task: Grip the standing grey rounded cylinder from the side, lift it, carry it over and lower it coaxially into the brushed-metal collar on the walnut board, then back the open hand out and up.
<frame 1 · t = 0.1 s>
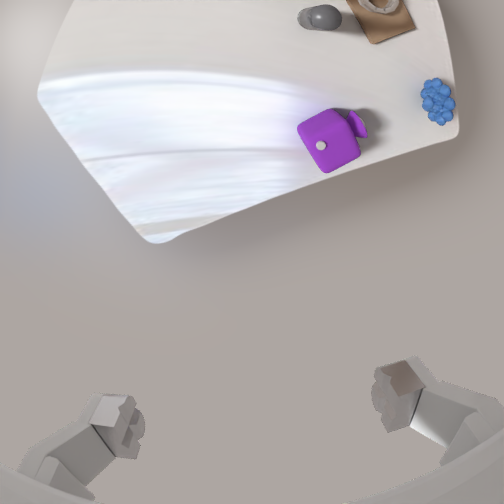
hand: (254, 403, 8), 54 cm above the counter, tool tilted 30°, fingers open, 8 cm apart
toy camera: (327, 127, 56), on the counter
blue lumpy cluster: (418, 93, 50), on the counter
grey rounded cylinder: (310, 18, 39), on the counter
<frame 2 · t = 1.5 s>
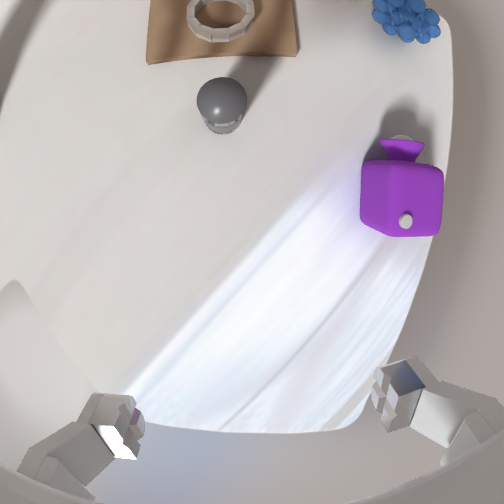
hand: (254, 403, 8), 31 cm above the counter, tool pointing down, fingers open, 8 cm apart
toy camera: (383, 182, 38), on the counter
blue lumpy cluster: (386, 35, 31), on the counter
grey rounded cylinder: (223, 116, 34), on the counter
mount: (220, 22, 30), on the counter
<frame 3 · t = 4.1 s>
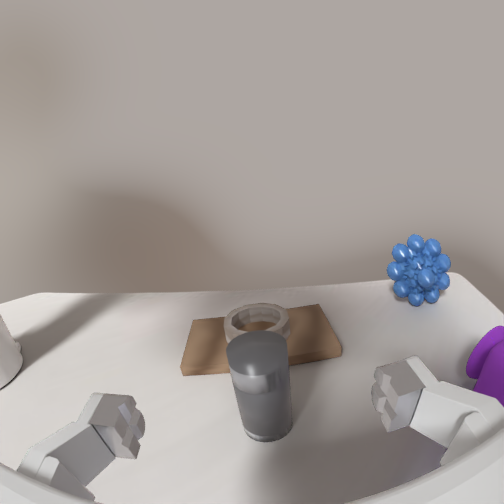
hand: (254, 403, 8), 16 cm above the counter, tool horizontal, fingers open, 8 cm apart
toy camera: (498, 418, 16), on the counter
blue lumpy cluster: (418, 309, 40), on the counter
grey rounded cylinder: (267, 423, 24), on the counter
mount: (259, 342, 39), on the counter
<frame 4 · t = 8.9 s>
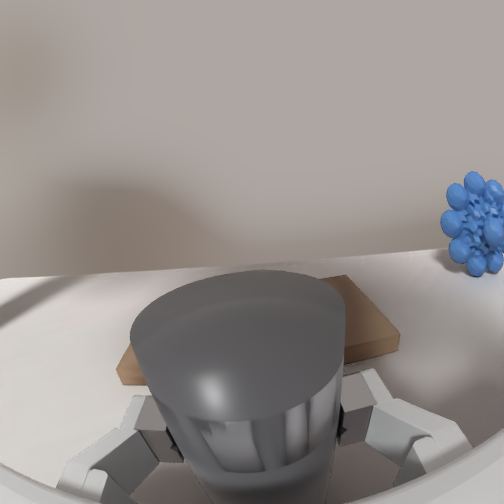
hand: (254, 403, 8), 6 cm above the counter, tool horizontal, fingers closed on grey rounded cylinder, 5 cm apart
blue lumpy cluster: (480, 280, 25), on the counter
grey rounded cylinder: (271, 496, 9), on the counter, touching gripper
mount: (255, 332, 23), on the counter
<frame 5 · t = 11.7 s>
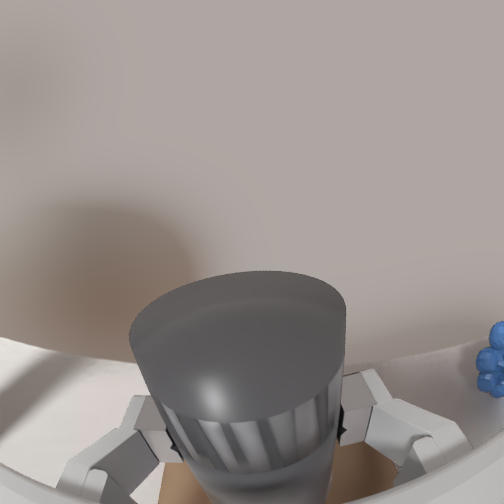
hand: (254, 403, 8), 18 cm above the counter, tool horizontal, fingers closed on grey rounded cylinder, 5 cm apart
blue lumpy cluster: (499, 401, 19), on the counter
grey rounded cylinder: (271, 496, 9), point 12 cm above the counter, touching gripper
mount: (277, 492, 18), on the counter
when the fingers open (9 cm above the counter, at t = 14.4 s): grey rounded cylinder drops 1 cm, resting on mount.
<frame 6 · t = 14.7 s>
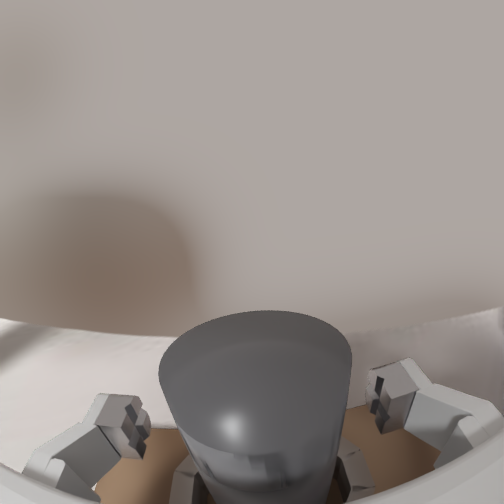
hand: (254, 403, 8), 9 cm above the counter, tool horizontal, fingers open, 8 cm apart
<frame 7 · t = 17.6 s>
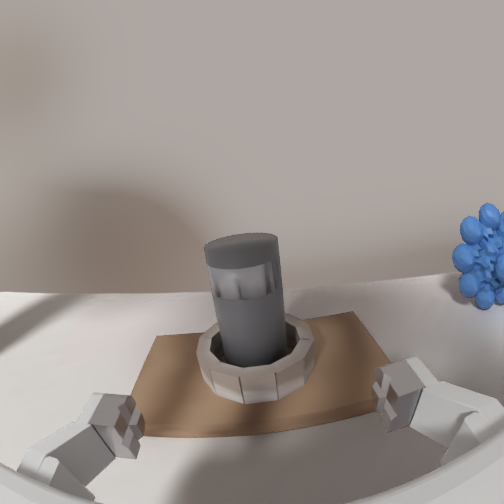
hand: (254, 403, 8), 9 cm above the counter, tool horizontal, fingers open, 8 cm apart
blue lumpy cluster: (487, 313, 23), on the counter
grey rounded cylinder: (258, 364, 21), point 2 cm above the counter, touching mount
mount: (260, 378, 22), on the counter
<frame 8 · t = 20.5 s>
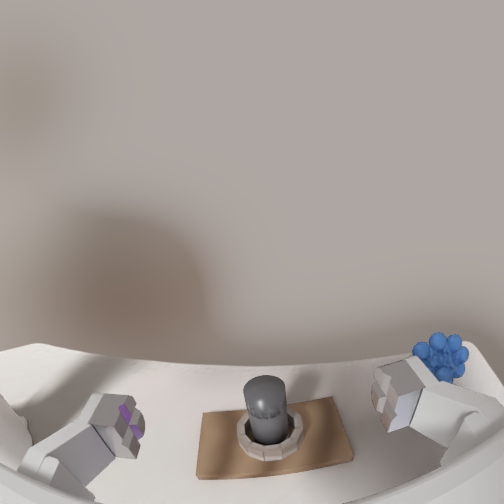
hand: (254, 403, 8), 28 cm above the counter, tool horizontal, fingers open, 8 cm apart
blue lumpy cluster: (430, 396, 34), on the counter
grey rounded cylinder: (271, 436, 33), point 1 cm above the counter, touching mount
mount: (271, 442, 33), on the counter
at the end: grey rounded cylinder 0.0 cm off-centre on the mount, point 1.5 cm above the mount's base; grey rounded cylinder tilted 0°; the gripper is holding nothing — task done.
